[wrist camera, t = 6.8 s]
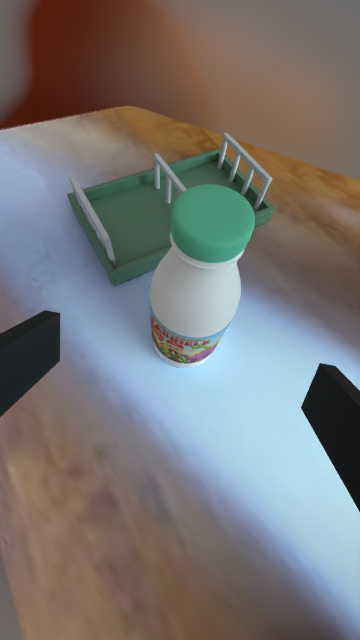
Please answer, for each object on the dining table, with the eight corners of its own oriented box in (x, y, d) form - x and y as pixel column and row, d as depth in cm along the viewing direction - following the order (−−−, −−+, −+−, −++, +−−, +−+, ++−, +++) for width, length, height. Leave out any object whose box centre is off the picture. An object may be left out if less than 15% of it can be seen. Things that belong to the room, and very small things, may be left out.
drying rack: (216, 162, 46) (224, 123, 40) (269, 221, 41) (287, 186, 35) (72, 208, 39) (57, 169, 33) (114, 286, 34) (104, 255, 28)
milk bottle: (159, 307, 33) (156, 152, 15) (216, 316, 33) (284, 174, 15) (147, 363, 30) (125, 255, 12) (211, 374, 30) (288, 283, 12)
